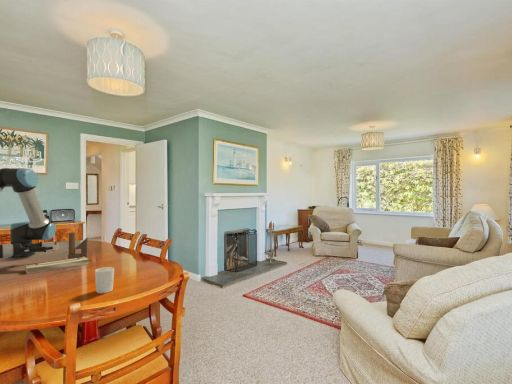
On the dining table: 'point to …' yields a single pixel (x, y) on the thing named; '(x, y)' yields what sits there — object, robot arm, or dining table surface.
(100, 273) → the white cup
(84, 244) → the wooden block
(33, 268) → the maple board
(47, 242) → the robot arm
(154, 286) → the dining table surface
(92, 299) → the dining table surface
